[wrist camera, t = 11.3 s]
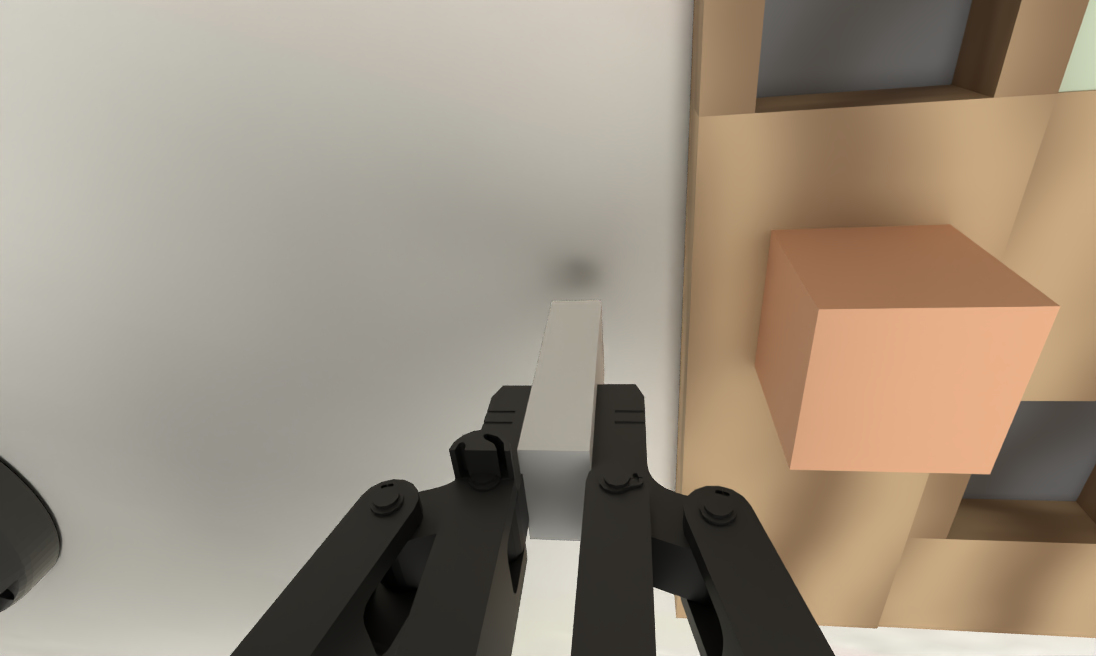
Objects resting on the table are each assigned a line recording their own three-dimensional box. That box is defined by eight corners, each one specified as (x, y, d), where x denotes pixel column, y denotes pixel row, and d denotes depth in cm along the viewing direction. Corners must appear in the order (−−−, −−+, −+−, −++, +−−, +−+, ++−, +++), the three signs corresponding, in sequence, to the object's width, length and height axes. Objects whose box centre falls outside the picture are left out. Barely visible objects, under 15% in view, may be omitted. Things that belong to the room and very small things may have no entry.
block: (754, 366, 20) (789, 469, 16) (771, 230, 18) (818, 309, 13) (909, 366, 19) (990, 474, 15) (950, 224, 17) (1061, 306, 13)
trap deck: (672, 572, 30) (682, 689, 25) (703, -254, 14) (746, -380, 9) (1061, 589, 27) (1157, 722, 22) (1623, -393, 12) (2361, -670, 7)
